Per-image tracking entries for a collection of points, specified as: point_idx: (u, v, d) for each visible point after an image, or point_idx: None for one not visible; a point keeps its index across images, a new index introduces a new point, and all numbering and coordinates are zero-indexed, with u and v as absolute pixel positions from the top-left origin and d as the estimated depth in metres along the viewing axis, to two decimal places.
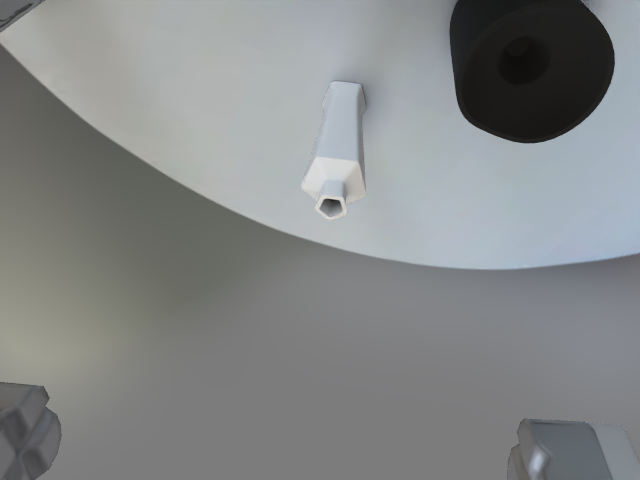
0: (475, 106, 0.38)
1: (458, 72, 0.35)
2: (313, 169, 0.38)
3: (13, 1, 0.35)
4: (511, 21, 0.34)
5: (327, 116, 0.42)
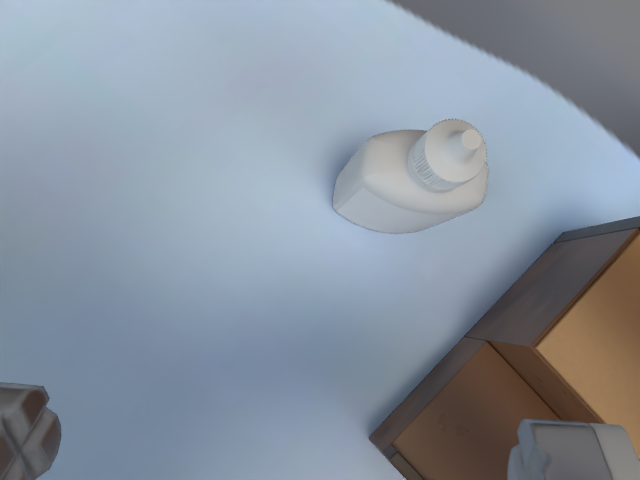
0: None
1: None
2: None
3: None
4: None
5: None
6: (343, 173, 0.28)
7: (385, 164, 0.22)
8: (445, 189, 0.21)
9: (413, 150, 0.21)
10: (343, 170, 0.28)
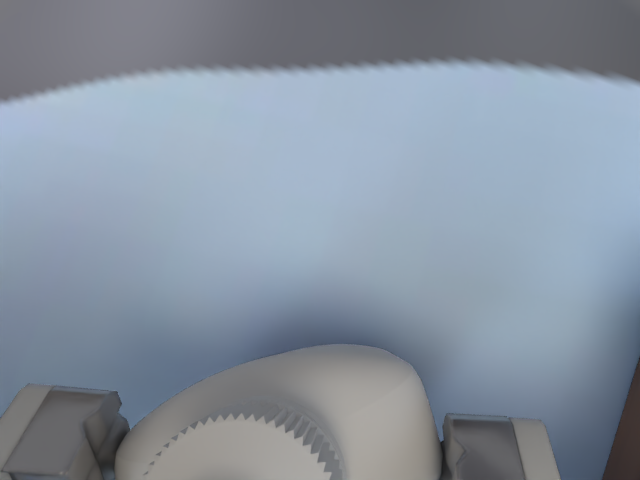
0: None
1: None
2: None
3: None
4: None
5: None
6: None
7: None
8: None
9: None
10: None
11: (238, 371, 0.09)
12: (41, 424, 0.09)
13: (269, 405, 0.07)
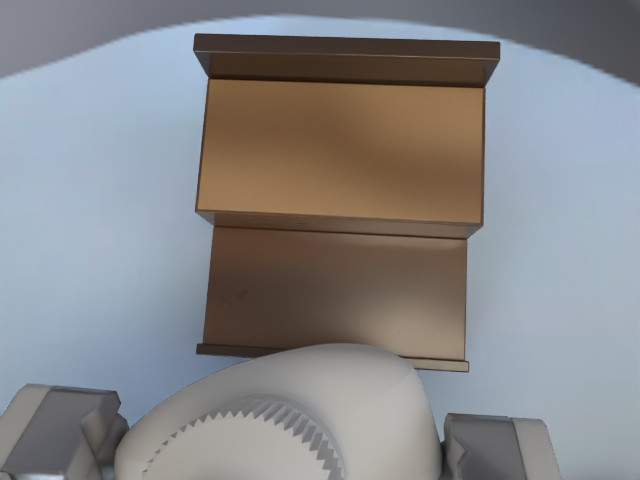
0: None
1: None
2: None
3: None
4: None
5: None
6: None
7: None
8: None
9: None
10: None
11: (237, 369, 0.09)
12: (40, 424, 0.09)
13: (268, 403, 0.07)
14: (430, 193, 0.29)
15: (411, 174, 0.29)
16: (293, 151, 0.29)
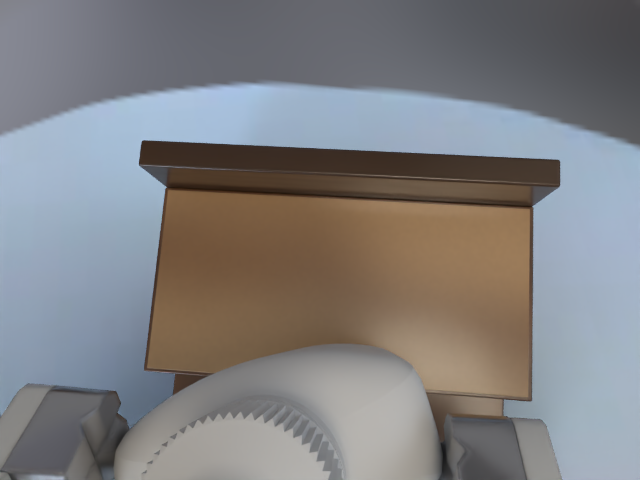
0: None
1: None
2: None
3: None
4: None
5: None
6: None
7: None
8: None
9: None
10: None
11: (237, 370, 0.09)
12: (40, 424, 0.09)
13: (268, 404, 0.07)
14: (459, 354, 0.21)
15: (433, 326, 0.21)
16: (276, 291, 0.22)
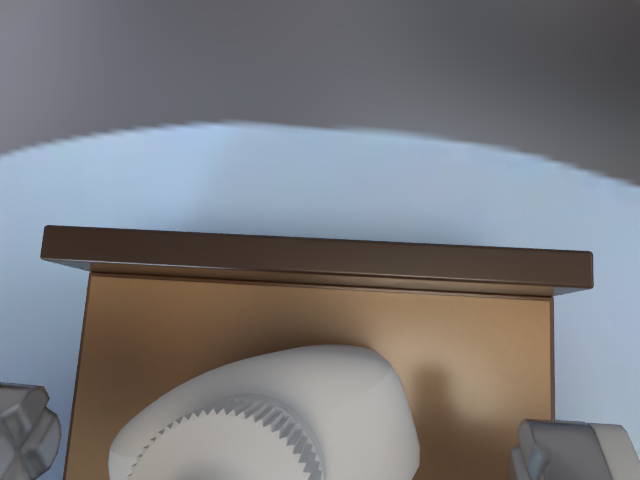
0: None
1: None
2: None
3: None
4: None
5: None
6: None
7: None
8: None
9: None
10: None
11: (225, 369, 0.10)
12: None
13: (251, 402, 0.08)
14: None
15: (428, 456, 0.17)
16: None
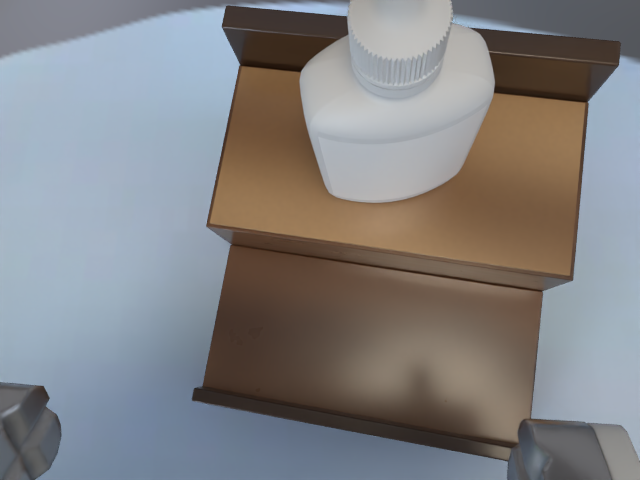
0: None
1: None
2: None
3: None
4: None
5: None
6: None
7: (328, 90, 0.15)
8: (416, 81, 0.14)
9: (350, 48, 0.14)
10: None
11: None
12: None
13: None
14: (505, 231, 0.22)
15: (482, 204, 0.22)
16: None
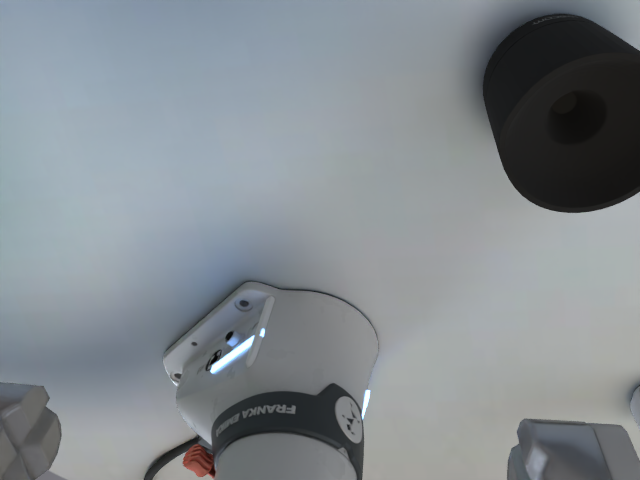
0: None
1: (617, 202, 0.32)
2: None
3: None
4: (544, 173, 0.34)
5: None
6: None
7: None
8: None
9: None
10: None
11: None
12: None
13: None
14: None
15: None
16: None
